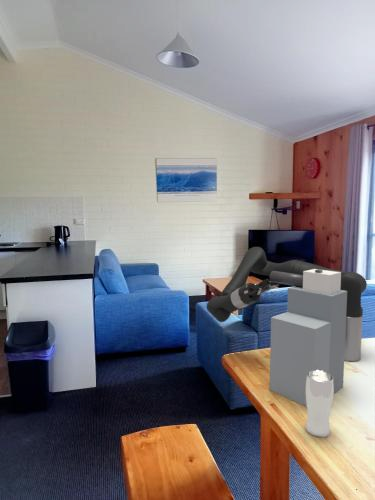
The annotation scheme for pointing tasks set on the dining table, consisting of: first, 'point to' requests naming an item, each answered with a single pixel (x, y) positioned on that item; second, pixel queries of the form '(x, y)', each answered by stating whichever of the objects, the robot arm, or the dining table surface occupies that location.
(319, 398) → the beer glass
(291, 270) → the robot arm
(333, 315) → the stepped stand
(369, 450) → the dining table surface
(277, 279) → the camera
